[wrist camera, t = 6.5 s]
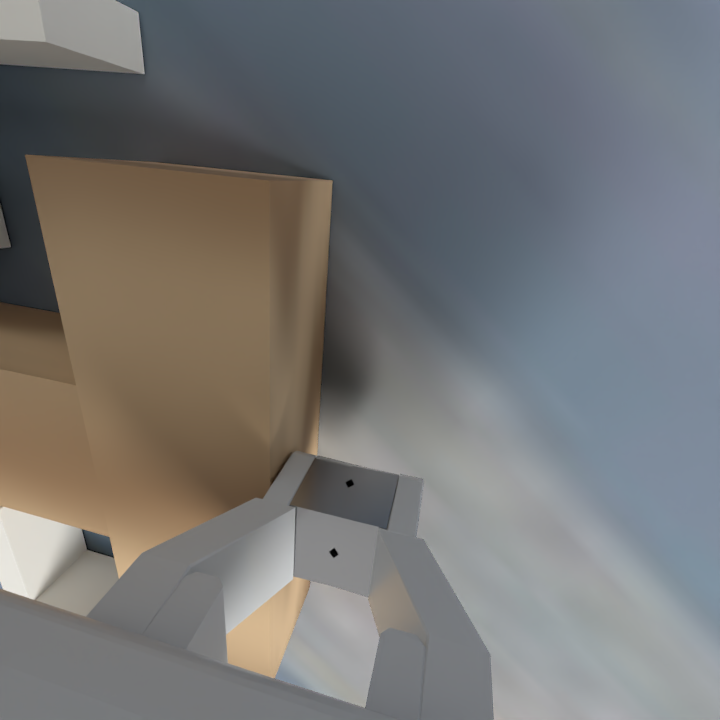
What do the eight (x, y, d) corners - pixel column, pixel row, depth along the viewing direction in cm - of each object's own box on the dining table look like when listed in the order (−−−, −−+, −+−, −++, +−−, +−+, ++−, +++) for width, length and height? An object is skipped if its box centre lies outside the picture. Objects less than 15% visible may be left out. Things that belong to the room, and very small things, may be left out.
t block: (-128, 132, 10) (-333, 116, 8) (332, 180, 8) (269, 180, 6) (1, 499, 15) (-96, 567, 13) (309, 587, 13) (270, 689, 11)
